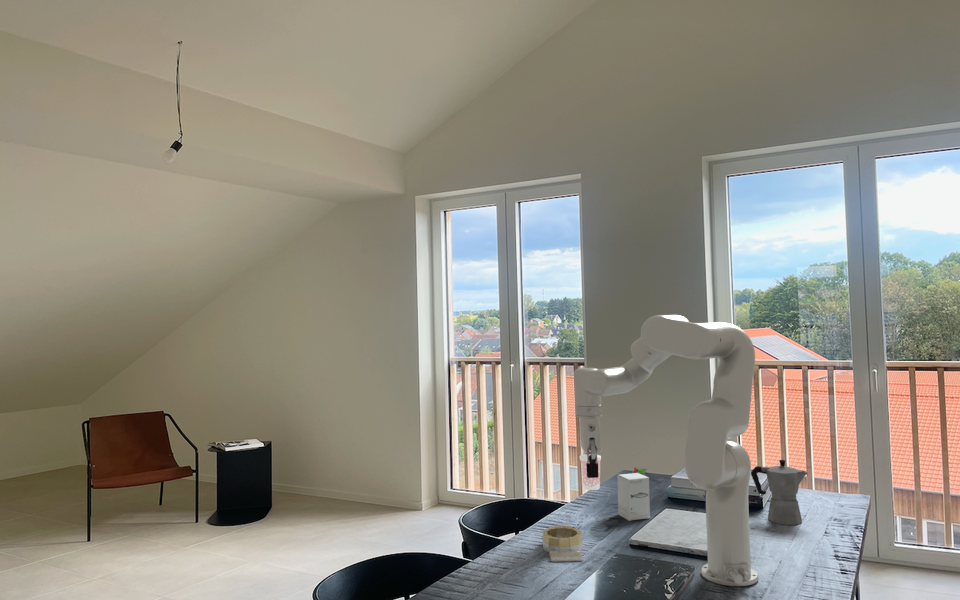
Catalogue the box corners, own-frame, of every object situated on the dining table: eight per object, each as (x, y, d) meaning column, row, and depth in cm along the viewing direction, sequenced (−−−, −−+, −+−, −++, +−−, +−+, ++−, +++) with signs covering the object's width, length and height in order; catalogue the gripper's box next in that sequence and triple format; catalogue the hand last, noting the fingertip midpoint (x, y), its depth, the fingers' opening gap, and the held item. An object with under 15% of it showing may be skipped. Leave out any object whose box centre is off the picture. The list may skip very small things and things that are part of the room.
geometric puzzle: (657, 481, 237) (647, 461, 241) (644, 484, 234) (633, 464, 238) (646, 490, 242) (636, 470, 246) (632, 493, 238) (622, 473, 243)
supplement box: (629, 521, 199) (627, 479, 200) (617, 514, 207) (616, 474, 207) (651, 518, 201) (649, 477, 202) (639, 512, 209) (637, 471, 209)
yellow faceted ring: (584, 554, 173) (584, 538, 173) (544, 555, 173) (544, 539, 173) (576, 535, 188) (576, 520, 188) (540, 535, 188) (540, 521, 189)
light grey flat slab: (587, 560, 168) (587, 552, 168) (546, 561, 168) (546, 553, 168) (579, 540, 183) (579, 533, 184) (541, 541, 184) (541, 534, 184)
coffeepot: (808, 518, 198) (806, 457, 198) (810, 527, 189) (807, 464, 190) (753, 513, 204) (750, 455, 204) (752, 522, 195) (750, 461, 196)
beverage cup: (585, 484, 192) (583, 436, 193) (605, 486, 189) (603, 437, 189) (577, 489, 187) (575, 439, 187) (597, 491, 184) (595, 441, 184)
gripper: (606, 415, 180) (609, 481, 179) (597, 407, 197) (599, 467, 197) (579, 416, 180) (581, 482, 180) (572, 407, 197) (574, 468, 197)
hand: (590, 474), depth 188 cm, fingers closed on beverage cup, 6 cm apart
